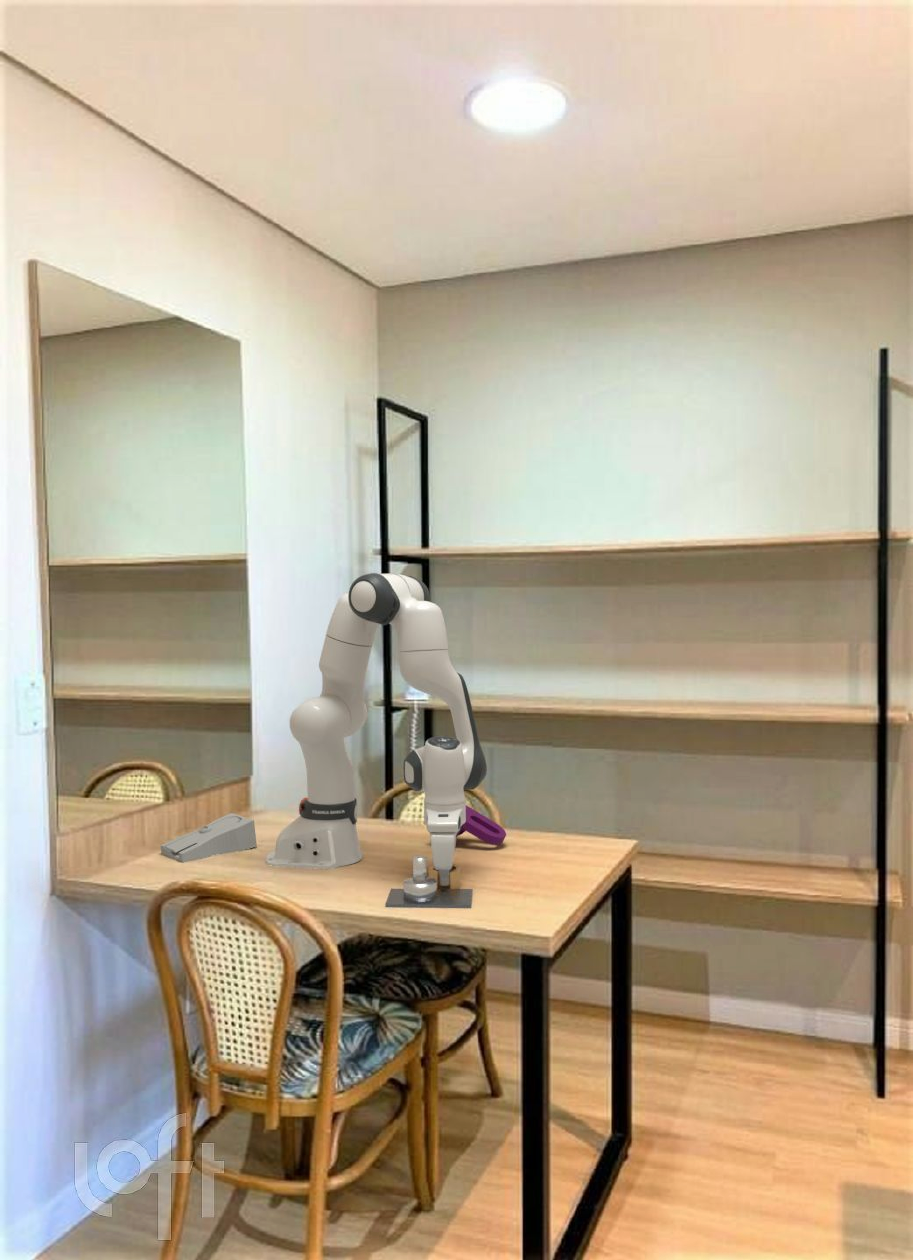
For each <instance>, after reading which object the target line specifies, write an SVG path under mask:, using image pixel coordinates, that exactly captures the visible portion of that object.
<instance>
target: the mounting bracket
mask: <svg viewBox="0 0 913 1260" xmlns="http://www.w3.org/2000/svg"><path fill="white" fill-rule="evenodd" d="M465 832H467V833H469V834H471V835H472V836H474V837H475V838H477V839H478V840H480V841H483V842H484V843H487V844H490V845H494V846H500V845H502V844H503V842H504V840H505V839H506V836H507V832H506V831H505V829H504V828H503V827H502V826H501V825H499V824H498V823H497V822H495V821H493V820H491V819H490V818H488V817H486V816H485V815H484V814H482V813H480V812H478V811H476V809H473V808H472V807H471V806H469V805H467V804H466V822H465V823H464V824H462V826H461V827H460V830H459V831H458V832H457V835H456V839H457V838H458V837H459V836H461V835H462V834H464V833H465ZM428 834H430V832H428Z"/></svg>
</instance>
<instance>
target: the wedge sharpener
mask: <svg viewBox="0 0 913 1260" xmlns="http://www.w3.org/2000/svg"><path fill="white" fill-rule="evenodd" d="M255 826H256V825H255V819H252V818H248V817H245V816H242V815H239V814H237V813H234V812H233V813H232V812H230V813H227V814H226V815H223V816H221V817H219V818H217V819H214V820H213V821H212V822H210V823H208V824H206V825H205V826H202V827H200V828H198V829H196V830H194V831H191V832H188V833H187V834H183V835H181V836H178V837H176V838H173V839H171V840H169V841H167V842H165V843H162V844H160V854H161V855H162V856H165V857H167V858H170V859H173V860H175V861H178V862H180V863H188V862H192V861H193V862H194V861H198V860H203V859H206V858H210V857H213V856H212V855H214V856H217V855H216V854H219V855H223V854H230V852H231V853H236V852H235V851H239V852H242V851H241V850H244V851H246V850H245V849H248V850H251V849H250V848H253V847H257V848H258V843H257V836H256V828H255ZM253 849H254V848H253Z"/></svg>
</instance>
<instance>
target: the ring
mask: <svg viewBox="0 0 913 1260" xmlns="http://www.w3.org/2000/svg"><path fill="white" fill-rule="evenodd" d="M461 868H462V867H461V865H457V864H454V863H452V868H451V870H449V885H447V886H442V885H441V884H440V873H439V870H436V869H435V868H434V864H433V865H430V866H429V868H428V877H430V878H433V879H435V880H436V881H437V889H461V886H462V885H461V884H462V882H461V875H462V873H461V871H462V869H461Z"/></svg>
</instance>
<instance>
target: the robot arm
mask: <svg viewBox="0 0 913 1260" xmlns="http://www.w3.org/2000/svg"><path fill="white" fill-rule="evenodd" d="M380 625H382V626H387V625H391V626H392V627H393V629H394V630H395V631H396V635H397V644H398V647H397V649H398V665H399V670H400V674H401V677H402V678H403V680H404V681H405V682H406V683H407V684H408V685H409V686H410V687H411V688H412V689H414V690H417V691H419V692H421V693H423V694H427V695H431V696H434V697H435V698H438V699H440V700H441V701H443V702H444V703H445V704H446V705H447V706H448V708H449V710H450V713H451V718H452V723H453V728H454V732H455V737H451V736H448V735H447V736H446V735H438V736H433V737H430V738H428V739H427V740H426V741H425V743H424V744H425V745H424V746H421V747H419V748H415V749H411V751H409V753H408V754H407V755H406V757H405V759H404V760H403V779H404V783H405V784H406V785H407V786H408V787H409V788H410V789H411V790H413V791H414V792H419V793H424V798H423V820H424V821H423V822H424V824H425V826H426V830H427V832H428V833H429V832H430V833H429V836H430V838H429V839H430V846H431V855H432V856H431V857H432V863H433V865H434V868H435V869H436V870H439V873H440V884H441V885H442V886H447V885H449V870H451V868H452V864H454V863H453V862H454V856H455V851H456V844H457V838H456V835H457V832H458V831H459V830H460V827H461V826H462V824H464V823H465V822H466V805H467V804H466V801H467V800H466V796H465V792H464V790H468V791H469V790H471V791H472V790H473V791H474V790H475V789H477V787H479V785H480V784H481V783H482V782H483V781H484V780H485V778H486V775H487V771H488V770H487V769H488V767H487V761H486V757H485V754H484V751H483V748H482V746H481V742H480V737H479V733H478V730H477V725H476V720H475V716H474V712H473V710H474V709H473V706H472V703H471V702H472V701H471V698H470V694H469V691H468V690H469V689H468V687H467V686H468V685H467V684H466V680H465V678H464V676H463V675H462V674H461V673H459V672H457V671H456V670H455V668H454V667H453V665H452V662H451V659H450V654H449V642H448V634H447V633H448V632H447V628H446V627H447V626H446V623H445V619H444V615H443V612H442V609H441V608H440V606H438V605H437V603H434V602H431V596H430V591H429V588H428V587H427V585H426V584H425V582H423V581H421V580H420V579H418V578H417V577H415V576H412V575H404V574H400V573H394V572H389V573H375V572H371V573H366V574H363V575H360V576H359V577H357V578H356V579H355V580H354V581H353V582H352V583H351V585H350V587H349V590H348V592H346V593H344V594H343V595H341V596H340V598H338V600H337V603H336V605H335V607H334V609H333V612H332V614H331V617H330V619H329V623H328V626H327V628H326V629H327V630H326V633H325V637H324V640H323V641H324V642H323V645H322V649H321V654H320V657H319V662H318V669H319V671H320V672H321V675H322V677H321V678H322V679H321V680H322V681H321V682H322V686H321V692H320V695H319V696H317V697H313V698H308V699H307V700H305V701H303V702H302V703H300V705H298V706H297V707H296V708H294V710H293V711H292V712H291V715H290V718H289V730H290V732H291V735H292V737H293V738H294V739H295V740H296V741H297V743H298V744H299V746H300V748H301V751H302V755H303V758H304V763H305V769H306V784H307V785H306V786H307V791H306V792H307V797H303V798H302V799H301V800H300V803H299V804H298V805H299V806H298V813H299V814H298V815H299V816H298V817H297V818H295V819H294V821H292V822H290V824H288V825H287V826H286V827H284V829H282V830H281V831H280V832H279V834H278V835H277V839H276V843H275V847H274V848H275V849H274V850H272V851H270V852H269V853H268V854H267V856H266V857H265V864H266V863H267V864H268V865H272V866H271V867H274V866H285V867H284V868H289V867H294V868H293V869H304V868H317V869H316V870H320V869H329V870H332V869H331V868H333V869H336V868H339V867H344V866H349V865H352V864H355V863H358V862H360V861H361V860H362V859H363V857H364V856H363V854H362V850H361V846H360V842H359V837H358V830H357V829H358V828H357V821H358V804H357V803H358V802H357V797H356V796H355V795H356V793H355V791H356V790H355V786H356V785H355V766H354V763H353V762H352V761H351V760H350V759H349V756H348V753H347V750H346V749H347V748H346V745H345V739H346V738H347V737H351V736H353V735H354V734H356V733H357V732H359V730H360V729H361V728H362V727H363V726H364V725H365V723H366V721H367V717H368V708H367V707H368V706H367V704H366V702H365V682H366V681H365V680H366V673H367V669H368V665H369V660H370V658H371V653H372V649H373V645H374V641H375V635H376V633H377V629H378V628H379V626H380ZM267 864H266V865H267ZM268 865H267V866H268ZM296 867H297V868H296Z"/></svg>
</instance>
